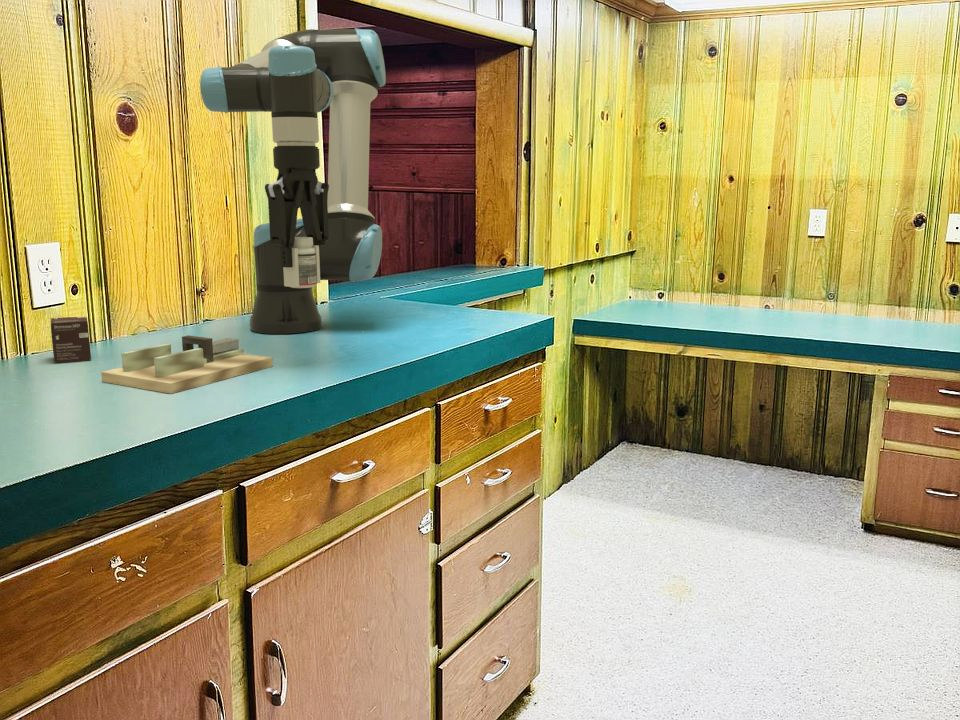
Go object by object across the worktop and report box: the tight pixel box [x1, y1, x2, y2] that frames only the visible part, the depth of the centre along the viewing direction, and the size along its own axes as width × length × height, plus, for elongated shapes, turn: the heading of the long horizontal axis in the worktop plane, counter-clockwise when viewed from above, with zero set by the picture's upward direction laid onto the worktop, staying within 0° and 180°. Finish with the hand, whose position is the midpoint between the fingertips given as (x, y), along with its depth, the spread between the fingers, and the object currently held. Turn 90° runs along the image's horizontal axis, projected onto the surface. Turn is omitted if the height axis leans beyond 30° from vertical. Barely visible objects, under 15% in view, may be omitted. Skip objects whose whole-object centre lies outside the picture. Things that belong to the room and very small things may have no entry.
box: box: [50, 316, 92, 364], centre depth 154 cm, size 6×6×7 cm
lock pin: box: [197, 337, 240, 355], centre depth 149 cm, size 7×2×2 cm, turn 150°
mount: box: [100, 335, 274, 395], centre depth 142 cm, size 22×16×6 cm
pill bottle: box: [292, 237, 318, 288], centre depth 146 cm, size 5×5×8 cm
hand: (302, 284), depth 147 cm, fingers closed on pill bottle, 5 cm apart
